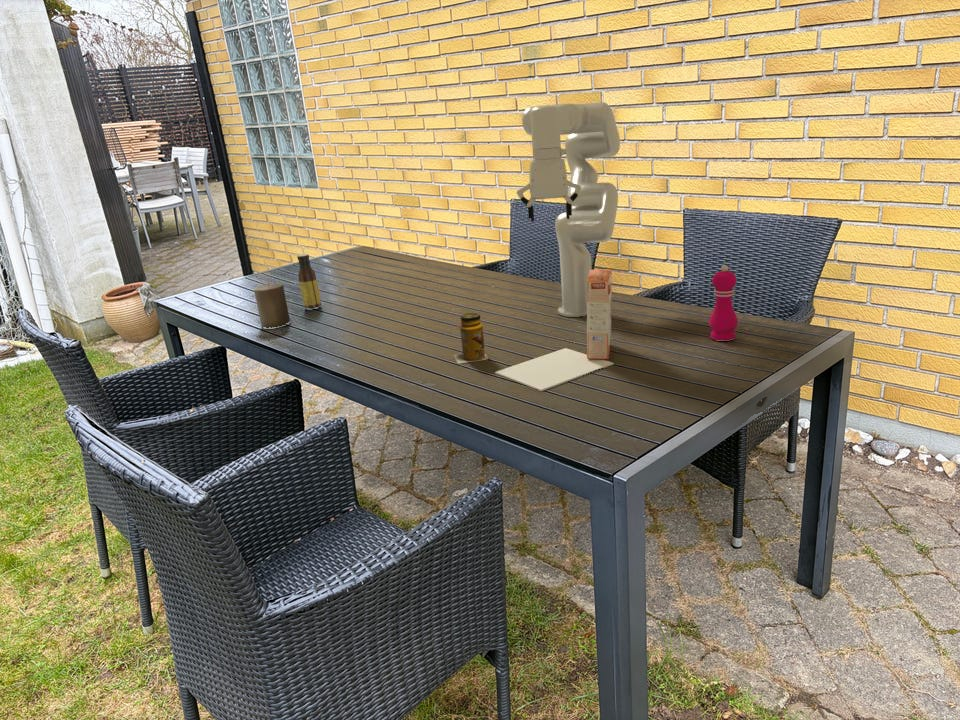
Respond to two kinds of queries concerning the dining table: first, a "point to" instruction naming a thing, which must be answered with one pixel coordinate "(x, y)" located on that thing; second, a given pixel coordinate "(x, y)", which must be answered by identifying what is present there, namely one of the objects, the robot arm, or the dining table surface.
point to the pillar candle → (272, 305)
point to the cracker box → (598, 314)
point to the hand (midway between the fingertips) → (550, 219)
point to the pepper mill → (723, 306)
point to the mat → (553, 369)
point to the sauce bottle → (308, 283)
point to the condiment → (471, 339)
